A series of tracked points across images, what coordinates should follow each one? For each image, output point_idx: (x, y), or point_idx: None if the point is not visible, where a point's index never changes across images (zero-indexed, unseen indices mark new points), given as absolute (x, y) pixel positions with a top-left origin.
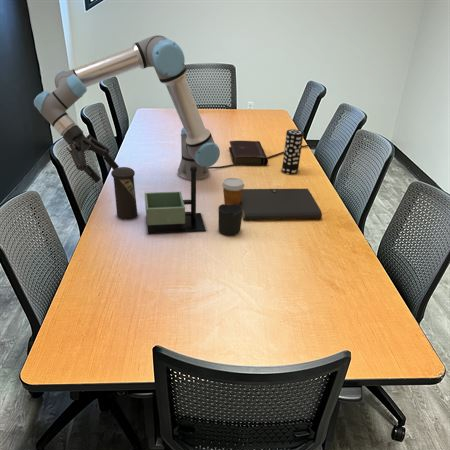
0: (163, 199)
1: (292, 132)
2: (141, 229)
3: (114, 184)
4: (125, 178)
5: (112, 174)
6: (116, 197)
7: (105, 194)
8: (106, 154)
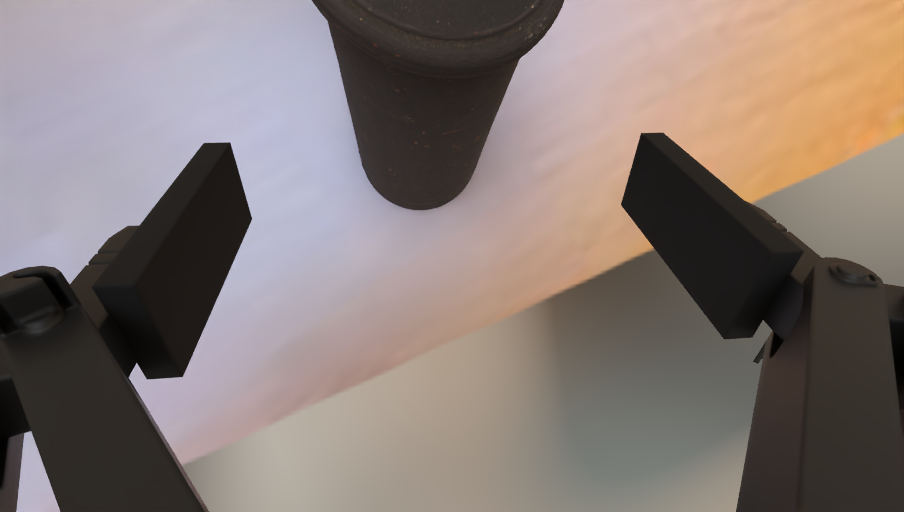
0: None
1: None
2: None
3: (503, 85)
4: None
5: (557, 9)
6: (490, 126)
7: (209, 449)
8: (108, 323)
